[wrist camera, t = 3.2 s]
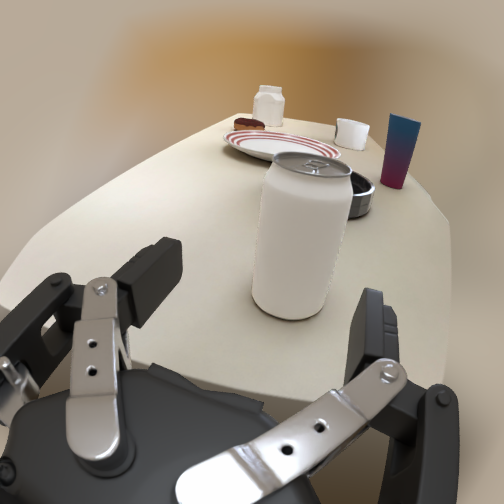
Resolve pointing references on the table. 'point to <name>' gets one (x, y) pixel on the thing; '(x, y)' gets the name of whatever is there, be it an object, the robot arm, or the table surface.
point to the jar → (269, 106)
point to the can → (299, 232)
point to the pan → (360, 195)
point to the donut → (248, 124)
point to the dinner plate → (276, 144)
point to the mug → (351, 134)
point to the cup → (399, 150)
